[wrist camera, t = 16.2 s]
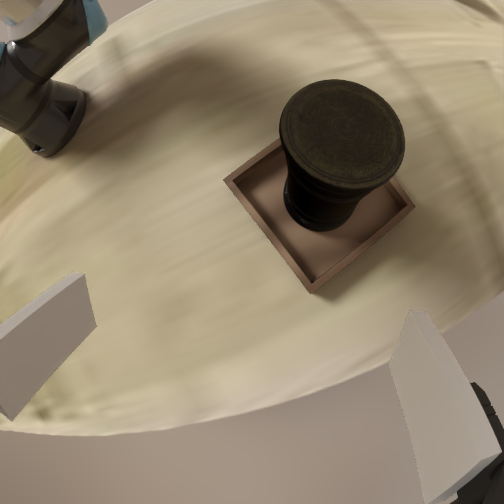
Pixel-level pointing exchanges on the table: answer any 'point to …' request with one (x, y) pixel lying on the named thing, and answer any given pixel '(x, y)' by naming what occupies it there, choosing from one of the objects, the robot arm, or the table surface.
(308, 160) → the container
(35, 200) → the table surface
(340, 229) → the walnut tray
